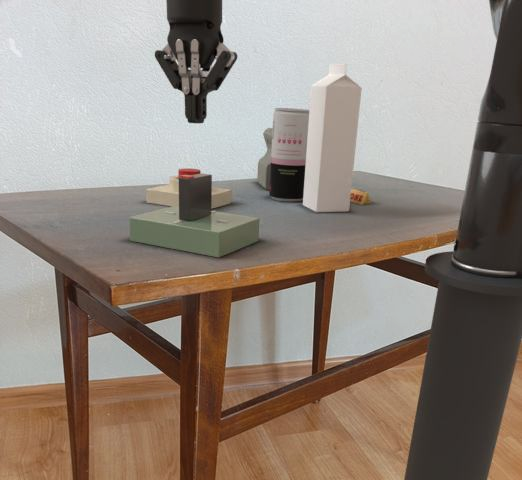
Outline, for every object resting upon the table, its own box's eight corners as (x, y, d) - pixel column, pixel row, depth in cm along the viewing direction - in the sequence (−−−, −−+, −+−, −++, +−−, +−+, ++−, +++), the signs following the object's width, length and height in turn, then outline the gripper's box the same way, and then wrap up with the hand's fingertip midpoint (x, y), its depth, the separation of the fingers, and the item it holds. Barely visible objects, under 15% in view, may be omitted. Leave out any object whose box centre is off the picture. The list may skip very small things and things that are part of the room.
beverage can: (274, 194, 110) (278, 107, 104) (308, 197, 109) (315, 109, 102) (265, 199, 104) (269, 108, 98) (301, 203, 103) (307, 110, 97)
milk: (316, 212, 96) (327, 62, 87) (302, 205, 101) (311, 62, 92) (349, 211, 98) (364, 64, 89) (334, 204, 103) (346, 64, 94)
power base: (231, 203, 100) (232, 178, 98) (202, 211, 93) (202, 185, 91) (177, 195, 105) (177, 172, 103) (146, 202, 97) (145, 177, 96)
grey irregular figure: (303, 194, 112) (307, 134, 107) (256, 191, 112) (258, 132, 107) (299, 181, 127) (303, 128, 122) (257, 179, 127) (259, 126, 122)
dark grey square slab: (201, 213, 77) (201, 171, 74) (211, 214, 76) (212, 172, 74) (178, 219, 72) (178, 175, 70) (189, 221, 72) (189, 176, 70)
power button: (204, 180, 98) (204, 169, 97) (192, 183, 95) (192, 172, 94) (186, 178, 99) (186, 167, 99) (174, 180, 96) (173, 169, 96)
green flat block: (258, 241, 77) (259, 216, 76) (218, 257, 69) (219, 231, 67) (176, 226, 82) (175, 203, 81) (130, 241, 74) (128, 215, 73)
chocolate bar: (361, 206, 105) (362, 193, 104) (317, 194, 114) (318, 182, 113) (371, 205, 106) (373, 192, 105) (328, 193, 115) (329, 182, 114)
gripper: (137, -18, 79) (143, 121, 86) (220, -23, 73) (220, 126, 80) (171, -10, 85) (174, 119, 92) (251, -14, 79) (248, 124, 86)
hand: (196, 122), depth 86 cm, fingers closed
